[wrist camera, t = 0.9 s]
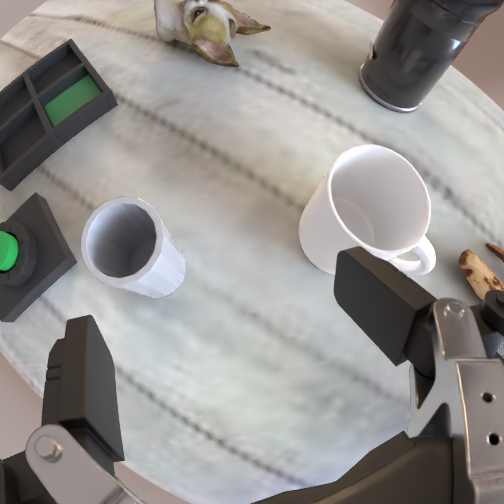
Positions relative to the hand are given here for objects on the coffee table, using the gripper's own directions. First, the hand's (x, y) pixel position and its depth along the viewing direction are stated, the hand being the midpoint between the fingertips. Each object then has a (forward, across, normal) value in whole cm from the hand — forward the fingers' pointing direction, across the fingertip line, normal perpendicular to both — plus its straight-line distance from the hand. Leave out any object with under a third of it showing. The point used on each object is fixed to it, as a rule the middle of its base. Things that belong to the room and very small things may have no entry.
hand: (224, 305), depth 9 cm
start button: (+21, +18, +4) cm, 28 cm away
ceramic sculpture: (+36, -9, -13) cm, 40 cm away
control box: (+23, +17, +7) cm, 30 cm away
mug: (+14, -16, +9) cm, 23 cm away
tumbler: (+18, +2, +9) cm, 20 cm away
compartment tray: (+37, +14, -8) cm, 41 cm away
